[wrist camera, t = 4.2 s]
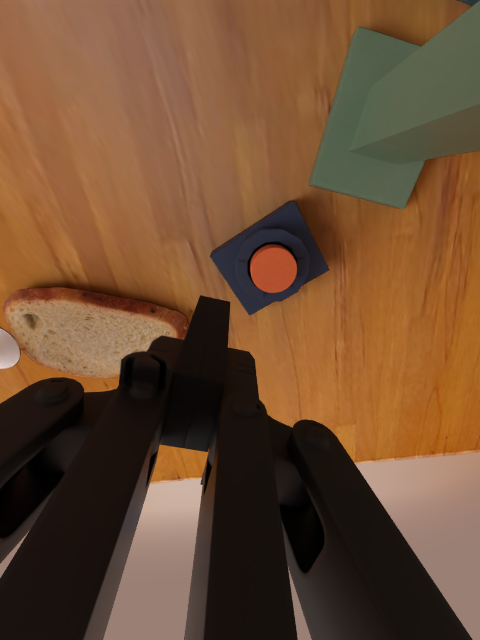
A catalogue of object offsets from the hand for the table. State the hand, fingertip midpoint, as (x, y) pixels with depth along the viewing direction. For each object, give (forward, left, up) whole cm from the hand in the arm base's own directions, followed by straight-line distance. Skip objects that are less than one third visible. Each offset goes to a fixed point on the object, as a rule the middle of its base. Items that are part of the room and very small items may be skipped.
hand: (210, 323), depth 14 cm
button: (-4, +3, -15) cm, 16 cm away
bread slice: (+18, -1, -20) cm, 27 cm away
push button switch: (-4, +3, -19) cm, 20 cm away
